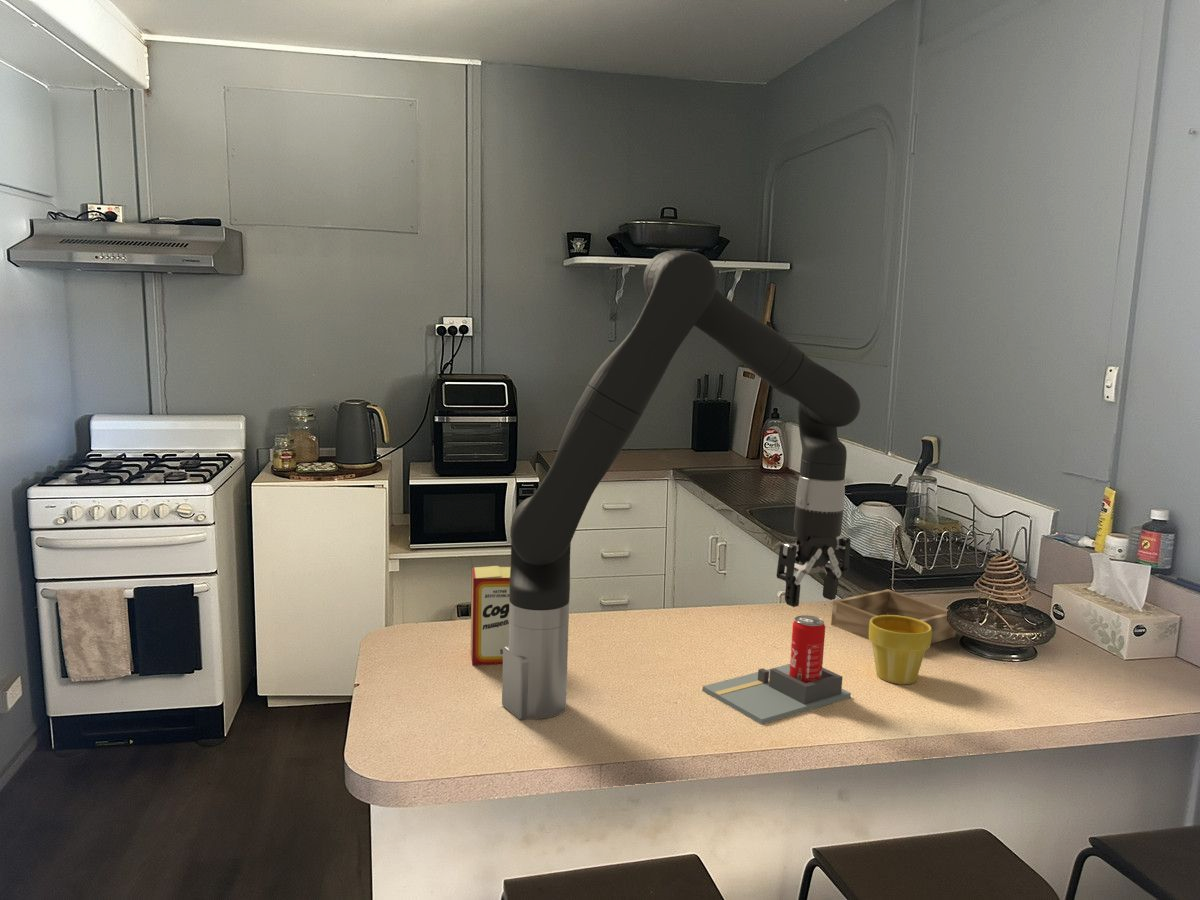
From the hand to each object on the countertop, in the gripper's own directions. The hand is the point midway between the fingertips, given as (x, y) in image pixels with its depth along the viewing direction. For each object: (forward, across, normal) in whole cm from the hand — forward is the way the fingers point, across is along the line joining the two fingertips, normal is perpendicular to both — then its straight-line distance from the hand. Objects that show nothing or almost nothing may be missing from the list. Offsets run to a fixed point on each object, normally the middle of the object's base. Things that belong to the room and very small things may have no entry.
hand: (810, 601), depth 147 cm
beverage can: (+15, 0, 0) cm, 15 cm away
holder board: (+16, -4, +2) cm, 17 cm away
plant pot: (+16, +20, -3) cm, 26 cm away
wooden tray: (+16, +39, +13) cm, 44 cm away
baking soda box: (+17, -37, +38) cm, 56 cm away
